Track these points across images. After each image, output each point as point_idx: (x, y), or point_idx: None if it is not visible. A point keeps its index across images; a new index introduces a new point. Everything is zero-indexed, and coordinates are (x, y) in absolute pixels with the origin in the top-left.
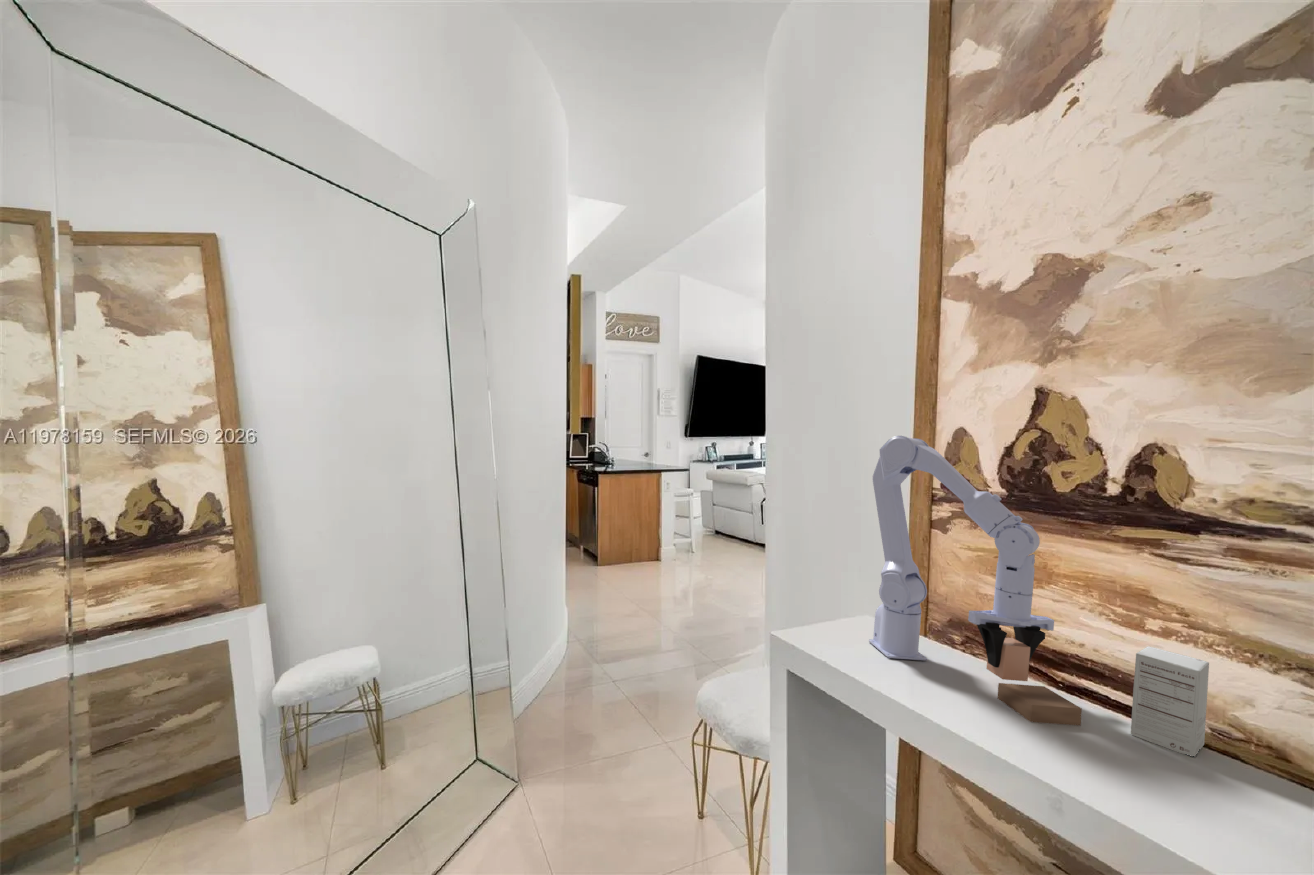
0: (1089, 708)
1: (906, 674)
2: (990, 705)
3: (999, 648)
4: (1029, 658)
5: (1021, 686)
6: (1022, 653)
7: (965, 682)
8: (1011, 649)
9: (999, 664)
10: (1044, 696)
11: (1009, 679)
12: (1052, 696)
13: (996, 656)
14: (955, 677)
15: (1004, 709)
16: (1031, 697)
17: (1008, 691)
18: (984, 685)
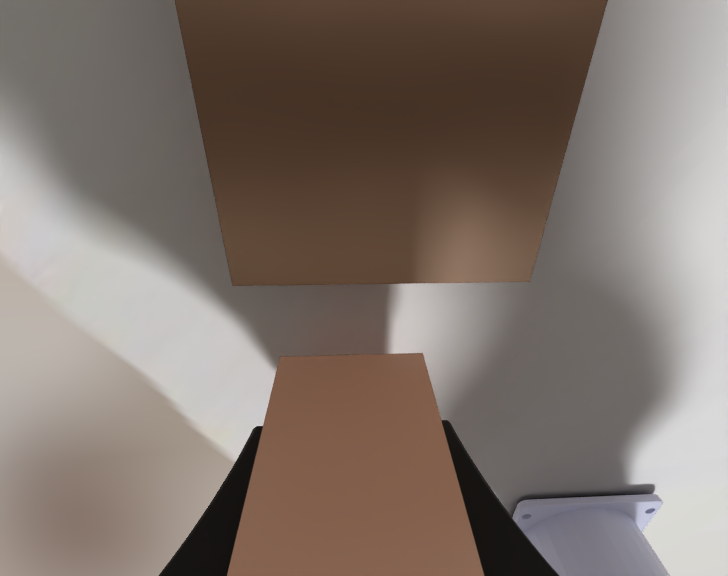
0: (9, 205)
1: (719, 397)
2: (618, 149)
3: (497, 541)
4: (229, 491)
5: (408, 255)
6: (307, 514)
7: (512, 374)
8: (414, 540)
9: None
10: (352, 104)
11: (385, 355)
12: (279, 117)
13: (480, 477)
14: (517, 408)
15: (578, 105)
16: (491, 59)
17: (548, 185)
18: (443, 363)
